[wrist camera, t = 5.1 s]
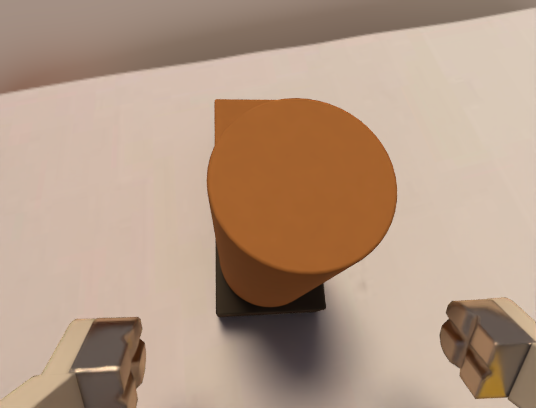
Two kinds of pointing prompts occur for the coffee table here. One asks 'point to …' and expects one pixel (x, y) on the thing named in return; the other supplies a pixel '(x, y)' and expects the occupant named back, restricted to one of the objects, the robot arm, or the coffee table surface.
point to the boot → (292, 202)
